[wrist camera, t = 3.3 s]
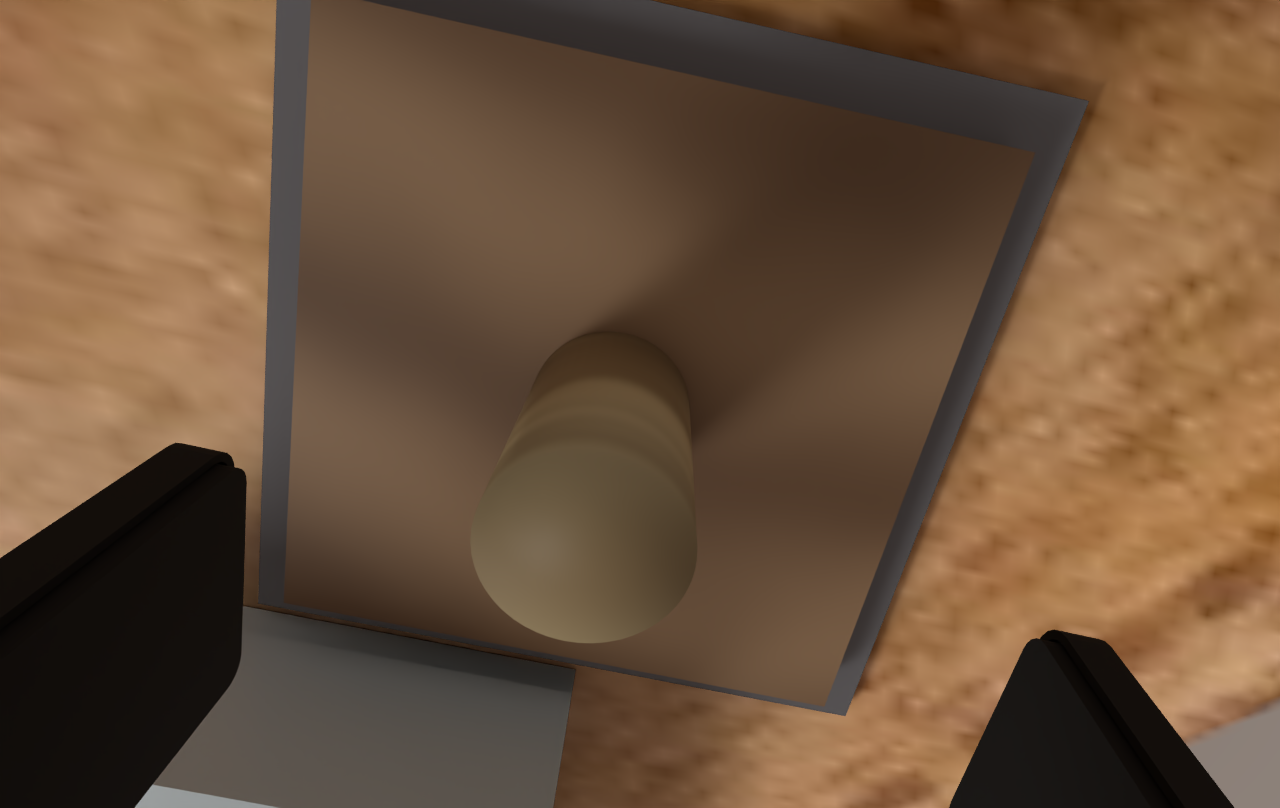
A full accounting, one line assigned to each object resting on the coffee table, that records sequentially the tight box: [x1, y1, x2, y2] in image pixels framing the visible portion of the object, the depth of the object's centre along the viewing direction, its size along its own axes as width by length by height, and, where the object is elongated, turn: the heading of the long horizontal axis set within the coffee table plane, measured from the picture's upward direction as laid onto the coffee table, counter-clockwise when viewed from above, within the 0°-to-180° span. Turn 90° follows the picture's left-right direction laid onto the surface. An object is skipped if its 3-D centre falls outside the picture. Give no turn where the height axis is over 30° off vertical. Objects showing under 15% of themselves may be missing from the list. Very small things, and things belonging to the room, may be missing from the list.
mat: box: [258, 0, 1089, 716], centre depth 16 cm, size 14×14×1 cm
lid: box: [284, 0, 1035, 707], centre depth 13 cm, size 12×12×6 cm
